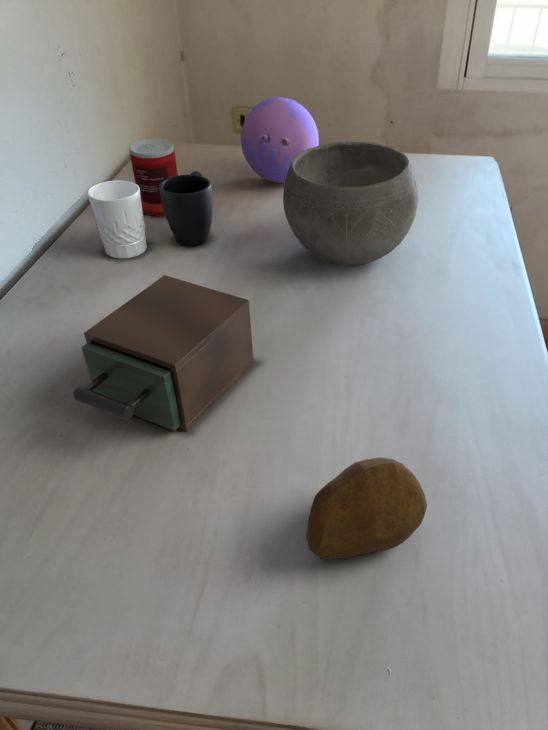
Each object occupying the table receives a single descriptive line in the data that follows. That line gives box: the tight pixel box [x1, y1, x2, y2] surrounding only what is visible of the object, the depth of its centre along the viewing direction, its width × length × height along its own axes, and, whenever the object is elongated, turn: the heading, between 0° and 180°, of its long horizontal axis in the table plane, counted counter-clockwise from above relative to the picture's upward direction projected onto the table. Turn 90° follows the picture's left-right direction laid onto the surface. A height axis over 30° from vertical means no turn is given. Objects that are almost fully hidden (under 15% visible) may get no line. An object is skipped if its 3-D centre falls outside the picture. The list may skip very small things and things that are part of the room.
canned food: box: [128, 138, 179, 217], centre depth 113 cm, size 8×8×11 cm
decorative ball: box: [240, 97, 320, 184], centre depth 122 cm, size 15×15×15 cm
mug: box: [159, 170, 214, 248], centre depth 105 cm, size 8×12×10 cm
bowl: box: [282, 141, 419, 266], centre depth 100 cm, size 21×21×15 cm
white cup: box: [86, 179, 148, 259], centre depth 101 cm, size 8×8×10 cm
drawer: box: [72, 342, 181, 432], centre depth 73 cm, size 18×11×8 cm, turn 153°
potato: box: [306, 457, 428, 560], centre depth 59 cm, size 8×12×9 cm
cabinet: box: [83, 274, 255, 432], centre depth 76 cm, size 15×13×10 cm
